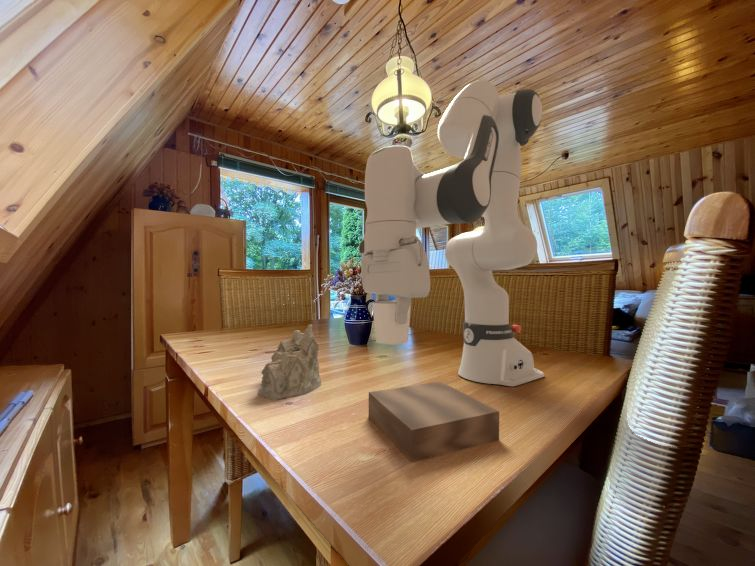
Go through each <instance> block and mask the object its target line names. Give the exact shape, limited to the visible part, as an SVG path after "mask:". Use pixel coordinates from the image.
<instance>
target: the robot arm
mask: <svg viewBox="0 0 755 566" xmlns="http://www.w3.org/2000/svg"><path fill="white" fill-rule="evenodd" d="M540 98H541V97H540V96H539V94H538V93H537V91H536V90H534V89H529V88H528V89H526V88H525V89H519V90H517V91H516V92H511V93H510V92H509V93H506V94H505V93H504V94H503V95H500V94H499V91H498V88H497V87H496V86H495V85H494V84H493V83H492V82H490V81H487V80H484V79H478V80H474V81H472V82H470V83H469V84H467V85H465V87H463V88H462V90H460V92H459V91H458V93H457V95H456V96H455V97H454V98H453V100H452V101H451V102H450V103H449V105H448V107H446V110H445V111H444V113H443V115H442V117H441V119H440V120H439V124H438V127H437V137H438V140H439V143H440V145H441V147H442V148H443V149H444V151H446V153H448V154H449V155H450V156H452V157H454V158H457V159H460V160H461V159H462V160H461V161H459V162H458V163H455V164H453V165H451V166H448V167H445V168H443V169H442V168H441V169H439V170H435V171H433V172H430V173H427V174H425V173H423V172H422V171H421V170H420V169H419V168H418V166H417V165H416V164H415V162H414V159H413V152H412V150H411V148H410V147H409V146H406V145H401V144H399V145H398V144H395V145H390V146H385V147H382V148H380V149H378V150H375V151H373V152H372V153H371V154H370V155H369V156H368V158H367V162H366V166H365V174H364V176H365V177H364V203H365V206H366V209H367V211H366V212H367V213H366V219H365V226H364V227H365V230H364V231H365V233H364V235H363V238H362V240H361V241H360V243H359V244H358V255H360V256H361V259H360V271H361V283H362V288H363V291H364V293H366V294H374V295H375V301H381V300H390V297H389V296H392V297H395V299H394V300H395V301H396V303H397V307H396V313H395V322H396V323H397V324H406V323H407V312H408V310H409V307H410V304H411V305H412V299H415V298H416V299H419V298H421V299H422V298H427V297H428V296H429V294H430V291H431V275H430V266H429V258H428V254H427V253H426V250H425V249H424V248H425V247H424V244H423V242H422V241H421V240H420V239H419V237H418V236H417V230H418V229H425V228H429V227H430V228H433V227H439V226H445V225H452V224H453V225H454V224H455V225H456V224H457V225H458V224H472V223H475V222H476V221H478V220H480V218H484V226H483V229H479V230H478V229H477V230H472V231H467V232H462V233H460V234H457V235H455V236H454V237H451V238H450V239H449V240H448V241H447V243H446V244H445V245H446V246H445V249H444V250H445V251H444V255H445V256H444V257H445V259H446V262H447V263H448V265H449V267H451V268H452V269H453V270H454V271H455V273H456V274H457V276H458V277H459V280H460V283H461V286H462V289H463V290H462V291H463V298H464V299H463V301H464V321H463V322H462V335H463V336H462V337H463V347H462V354H461V360H460V364H459V365H460V366H459V369H458V371H457V373H458V375H459V376H460V377H462V378H463V379H466V380H469V381H472V382H475V383H481V384H489V385H491V384H493V385H502V386H507V387H516V386H520V385H522V384H526V383H530V382H531V381H534V380H539V379H542V378H543V377H545V373H544V372H543V371H541V370H540V369H538V368H535V365H534V355H533V354H532V352H531V350H529V349H528V348H527V347H525V346H524V345H523V344H522V343H521V342H520V341H518V340H517V339H516V338H515V335H514V333H518V334H519V333H521V331H522V326H521V325H519V324H512V325H511V324H510V323H509V322H510V321H509V320H510V318H509V317H510V316H509V315H510V313H509V312H510V311H509V310H510V296H509V294H508V292H507V290H505V288H503V287H501V286H500V285H499V284H498V283H497V281H496V280H495V277H494V275H493V271H501V270H502V271H505V270H506V271H509V270H513V269H517V268H518V269H519V268H522V267H526V266H528V265H530V264H531V263H532V261H533V260H534V258H535V257H536V255H537V250H538V240H537V238H536V235H535V234H534V232H533V231H532V230H531V229H530V228H529V227H528V226H526V225H525V224H524V223H523V222H522V220H521V219H520V216H519V211H518V202H519V194H520V186H521V181H522V169H523V168H522V167H523V160H522V159H523V158H522V157H523V156H522V150H521V147H524V146H526V145H528V143H529V141H530V139H531V137H533V136H534V135H535V133H536V132H537V130H538V129H539V127H540V125H541V121H542V116H543V105H542V101H541V99H540Z"/></svg>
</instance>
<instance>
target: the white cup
mask: <svg viewBox="0 0 755 566" xmlns="http://www.w3.org/2000/svg"><path fill="white" fill-rule="evenodd" d="M371 305H372V314H373V324H374V333H375V342H376V343H378V344H379V345H380V344H381V345H402V344H407V343H408V342H409V336H410V335H409V334H410V333H409V332H410V320H411V310H412V309H411V307H412V303H411V304H410V307H409V310H408V312H407V323H406V324H397V323H396V322H395V313H396V307H397V303H396V301H395V299H389V300H381V301H376V300H375V301H371Z"/></svg>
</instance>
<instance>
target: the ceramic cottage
mask: <svg viewBox="0 0 755 566" xmlns="http://www.w3.org/2000/svg"><path fill="white" fill-rule="evenodd" d="M313 327H314V325H313V324H308V325H307V328H305V330H304V333H303V332H301V331H300V330H298V329H297V330H293V331H292V338H291V339H287V340H283V341H280V343H279V344H278V346H277V349H276V350H275V352H274V353H273V354H272V355H271V357H270V359H271V361H270V362H267V363H266V364H265V366H264V368H263V369H262V370H261V372H260V373H261V375H262V377H261V387H259V388H258V389H257V390H258V391H257V395H258V394H259V397H262V396H263V397H264V398H266V399H268V400H272V401H273V400H274V401H277V400H281V399H285V398H287V399H289V398H293V397H296V396H297V397H298V396H302V395H306V394H308V393H310V392H312V391H314V390H317V389H318V388H320V387H321V386H322V379H321V376H320V366H319V365H320V362H319V361H318V354H319V353H318V351H319V349H320V347H319V344H318V343H317V342H316V339H315V335H314V332H313V331H314V330H313Z"/></svg>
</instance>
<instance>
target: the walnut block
mask: <svg viewBox="0 0 755 566" xmlns="http://www.w3.org/2000/svg"><path fill="white" fill-rule="evenodd" d="M368 418H369V419H370V420H371V421H372V422H373V423H374V425H375V426H377V428H378V429H379V430H380V431H381V432H382V434H384V435H385V437H386V438H387V439H389V441H390V442H391V443H393V445H394V446H395V447H396V448H397V449H398V450H399V451H400V453H402V455H404V456H405V458H406V459H407V460H408V461H409V462H410V463H411V464H412V463H416V462H419V461H420V462H421V461H424V460H428V459H431V458H436V457H439V456H442V455H446V454H450V453H455V452H458V451H462V450H465V449H469V448H470V449H471V448H473V447H477V446H481V445H486V444H489V443H493V442H496V441H497V442H498V441H499V440H500V411H499V410H497V409H495V408H493V407H491V406H490V405H488V404H486V403H484V402H482V401H480V400H478V399H476V398H474V397H473V396H470V395H468V394H466V393H464V392H462V391H460V390H458V389H456V388H454V387H452V386H451V385H448V384H446V383H444V382H443V381H435V382H428V383H423V384H415V385H408V386H402V387H395V388H390V389H389V388H388V389H382V390H375V391H368Z"/></svg>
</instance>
